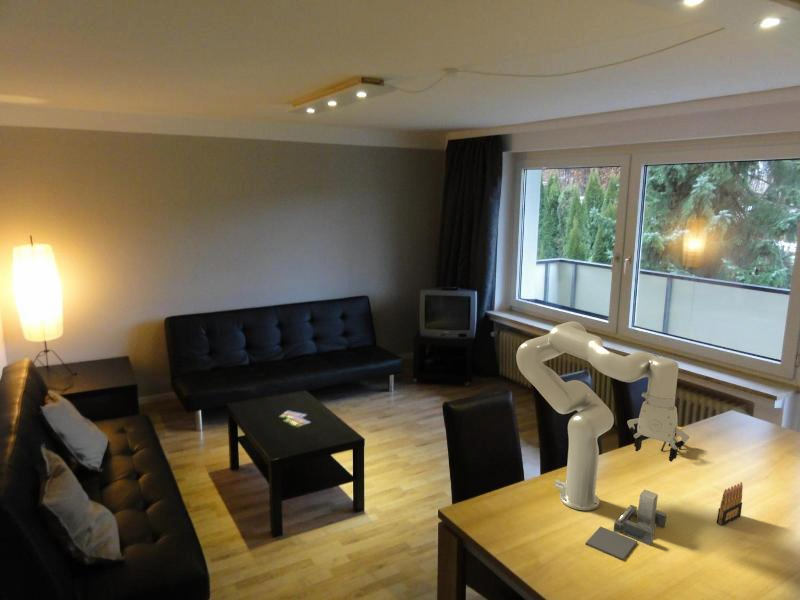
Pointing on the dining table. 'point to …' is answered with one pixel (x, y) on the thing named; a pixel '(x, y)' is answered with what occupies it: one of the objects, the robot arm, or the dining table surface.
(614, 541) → the mat
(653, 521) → the steel post
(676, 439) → the robot dog
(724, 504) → the ammunition clip
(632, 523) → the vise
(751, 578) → the dining table surface
